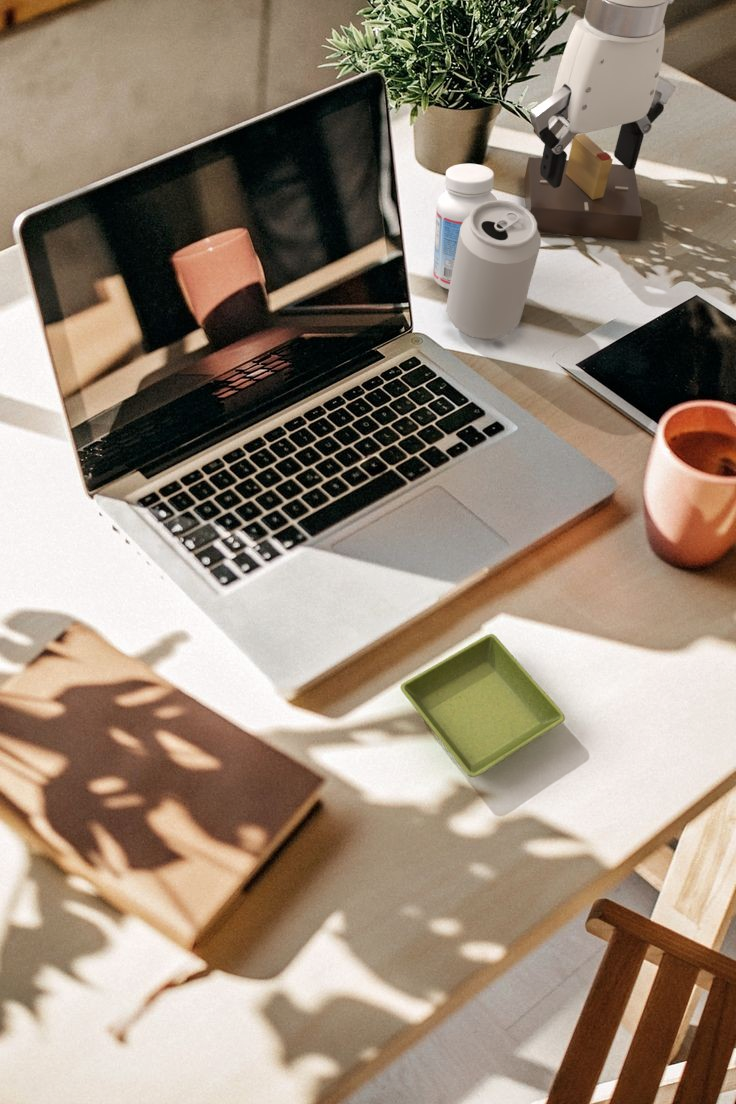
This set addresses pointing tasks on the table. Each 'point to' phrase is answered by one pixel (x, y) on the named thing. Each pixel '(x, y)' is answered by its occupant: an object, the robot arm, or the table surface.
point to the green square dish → (482, 704)
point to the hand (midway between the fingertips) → (587, 171)
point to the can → (493, 269)
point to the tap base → (584, 204)
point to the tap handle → (588, 166)
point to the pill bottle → (457, 212)
